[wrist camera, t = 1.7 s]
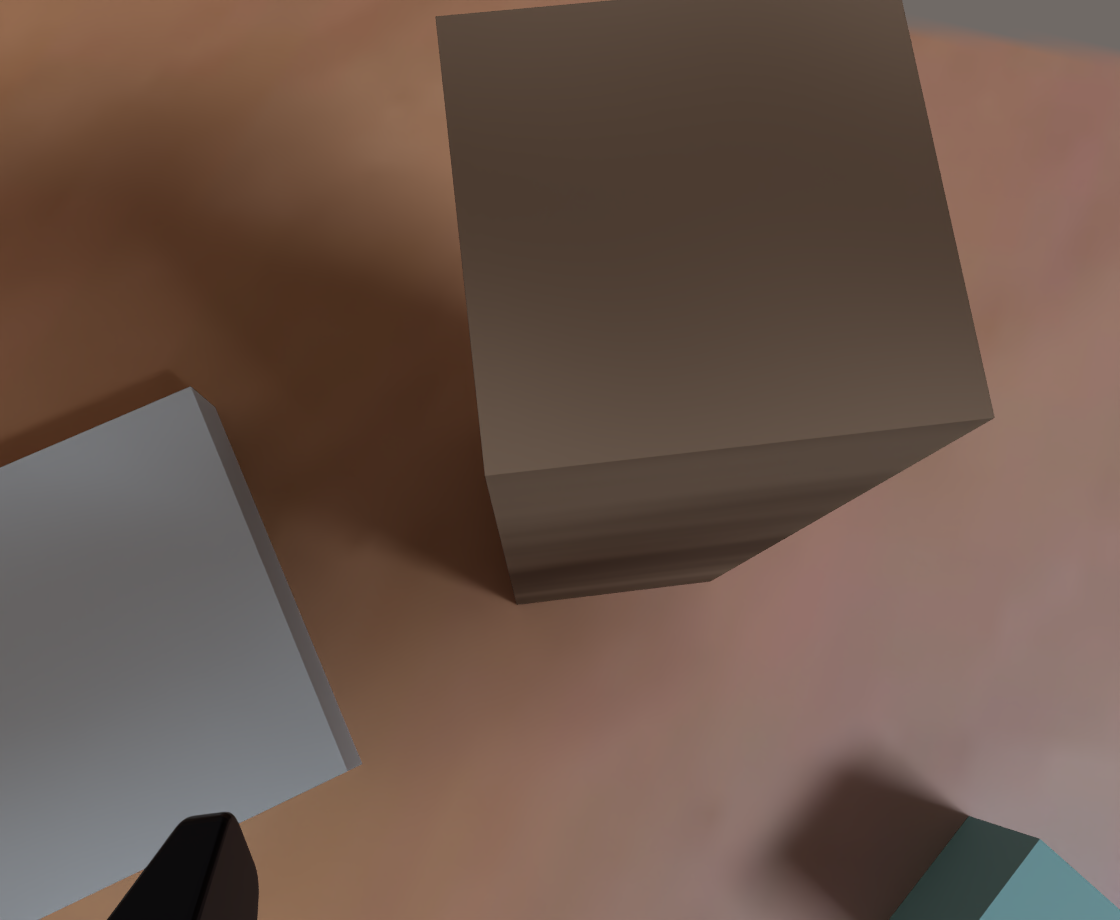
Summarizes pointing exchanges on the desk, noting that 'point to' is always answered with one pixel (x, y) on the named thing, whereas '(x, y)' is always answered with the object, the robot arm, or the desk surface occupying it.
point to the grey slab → (144, 655)
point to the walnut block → (698, 277)
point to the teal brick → (1002, 881)
